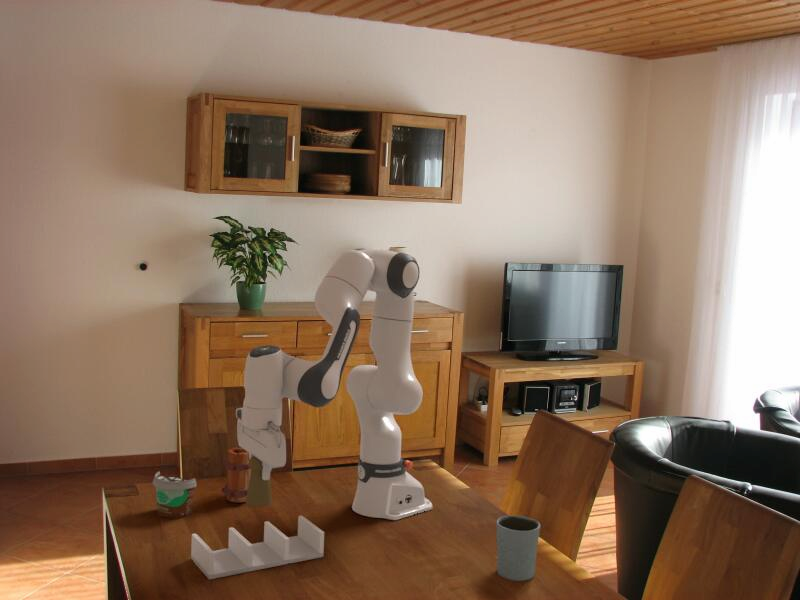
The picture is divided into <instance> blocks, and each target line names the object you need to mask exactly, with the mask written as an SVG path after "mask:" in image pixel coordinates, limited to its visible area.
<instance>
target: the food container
mask: <svg viewBox="0 0 800 600" xmlns="http://www.w3.org/2000/svg"><path fill="white" fill-rule="evenodd" d="M152 485H153V487H155V495H156V507H157V509H156V510H157V515H158V516H160V517H162V518H165V517H167V518H166V519H180V517H182V518H185V517H184V516H187V517H189V516H188V515H190V516H192V514H193V513H192V511H193V504H194V503H193V502H194V494H195V488H196V487H197V480H196V478H195V477H193V478H192V479H188V480H187V479H184V478H181V477H179V476H168V475H162V474H161V471H157V472H156V473H155V475H154V477H153V480H152Z"/></svg>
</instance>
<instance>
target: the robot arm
mask: <svg viewBox="0 0 800 600" xmlns="http://www.w3.org/2000/svg"><path fill="white" fill-rule="evenodd" d="M419 279H420V267H419V264H418V262H417V260H416V258H415V257H414V256H412V255H410V254H407V253H405V252H397V251H392V250H388V249H372V248H371V249H367V248H362V247H361V248H354V249H349V250H346V251H344V252H343V253H342V254H341V255H340V256H339V257H338V259H337V260H336V261H335V262H334V263H333V264H332V265H331V267H330V268H329V270H327V273H326V274H325V276H324V278H323V279H322V281H321V282H320V284H319V286H318V287H317V289H316V292H315V295H314V305H315V309H316V310H317V312H318V314H319V315H320V317H321V318H322V319H323V320H324V321H326V322H327V324H329V325H331V326H332V332H331V334H330V337H329V339H328V342H327V344H326V347H325V349H324V351H323V354H322V357H320V359H318V360H315V361H311V360H307V359H302V358H299V357H295V356H292V355H290V354H287V353H286V352H284V351H283V350H282V349H281V347H279V346H276V345H270V344H269V345H261V346H260V345H259V346H256V347H254V348H252V349H250V350H249V352H248V353H247V354H248V355H247V356H246V361H245V364H244V365H245V366H244V373H243V374H244V376H243V377H244V378H243V388H244V391H245V397H244V399H243V403H242V404H243V405H242V407H237V408H236V410H235V417H236V419H237V424H236V426H237V427H236V430H237V431H236V432H237V433H236V435H237V436H236V437H237V438H236V439H237V443H238V446H239V447H240V448H243V449H245V450H246V451H247V452H249V458H251V457H253V456H255V457H256V458H258V459H259V460H260V461H262V466H263V469H262V471H261V473H260V474H261V476H260V477H261V478H262V479H263V480H269V479H270V480H271V472H272V470H273V469H277V468H283V467H285V466H286V463H287V443H286V442H287V441H286V436H285V433H283V432H282V431H281V426H282V421H283V419H282V418H283V398H288V399H290V400H293V401H298V402H301V403H304V404H306V405H309V406H312V407H313V408H323V407H325V406H328V404H330V403H331V402H332V401H333V400H334V399H335V398H336V396H337V394H338V392H339V389H340V386H341V379H342V376H343V371H344V370H345V367H346V365H347V362H348V359H349V357H350V353H351V351H352V348H353V346H354V344H355V341H356V338H357V335H358V333H359V329H360V326H361V316H360V313H359V309H360V306H361V304H362V302H363V300H364V298H365V296H366V294H367V293H368V291H369V292H375V294H376V295H375V299H374V303H373V309H372V314H371V315H372V316H371V323H370V331H369V340H368V344H369V348H370V349H371V351H372V352H373V354H374V357H375V360H376V365H373V364H363V365H362V364H360V365H356V366H355V367H353V368H352V369H351V370H350V371H349V372H348V375H347V377H346V380H345V386H346V391H347V393H348V395H349V396H350V397H351V399H352V401H353V404H354V407H355V410H356V413H357V418H358V421H359V429H360V449H359V450H360V451H359V457H358V458H357V459H358V460H357V461H358V462H357V463H358V464H357V487H356V492H355V494H354V495H355V496H354V499H353V502H352V506H351V508H352V511H354V512H355V513H356V514H359V515H361V516H363V517H364V516H365V517H369V518H377V519H380V518H381V519H385V520H391V521H397V520H398V521H399V520H400V519H404V518H407V517H411V516H414V514H415V515H418V514H421V513H424V511H425V512H428V511H431V510H433V503H432V502H431V500H429V499H428V498H427V497H425V489H424V487H423V484H422V483H421V482H420V481H419V480H417V478H415V477H413V475H412V474H410V473H409V472H407V470H411V469H413V467H414V466H413V465H414V463H413V462H412V461H410V460H409V459H406V460H405V459H404V458H402V457H401V455H402V430H401V427H400V426H399V425H398V423H397V421H396V419H395V417H394V415H400V416H401V415H406V416H407V415H411V414H413V413H414V412H415V413H416V411H417V410H418V409H419V407H420V405H421V404H422V401H423V397H424V396H423V395H424V393H423V388H422V385H421V383H420V382H419V381H418V378H417V377H416V374H415V371H414V368H413V362H412V357H411V344H412V343H411V340H412V332H413V321H414V314H415V313H414V311H415V294H414V293H415V291H414V289H415V288H416V287H417V284H418V281H419ZM406 468H407V470H406ZM417 513H418V514H417Z"/></svg>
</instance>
